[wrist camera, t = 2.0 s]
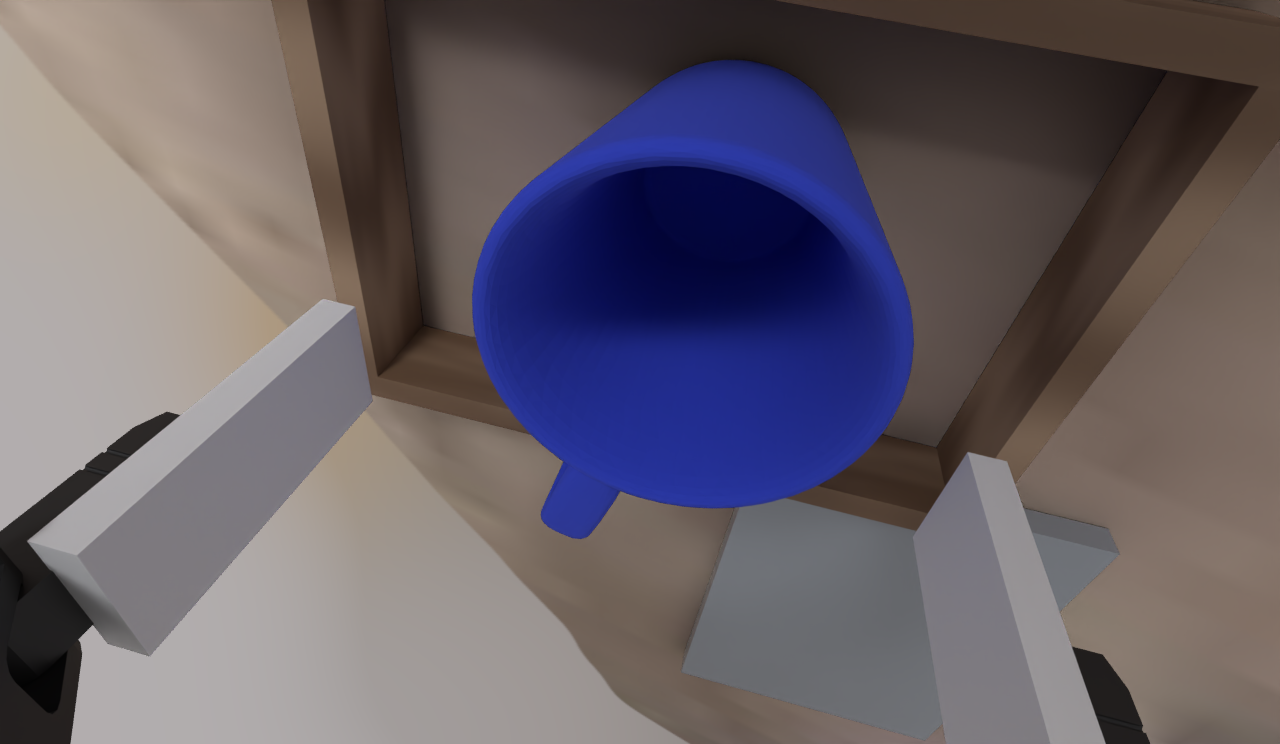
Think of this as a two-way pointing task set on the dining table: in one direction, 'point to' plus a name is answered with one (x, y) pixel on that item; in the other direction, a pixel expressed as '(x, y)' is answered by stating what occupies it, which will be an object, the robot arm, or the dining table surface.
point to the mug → (696, 301)
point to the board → (845, 610)
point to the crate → (1040, 335)
